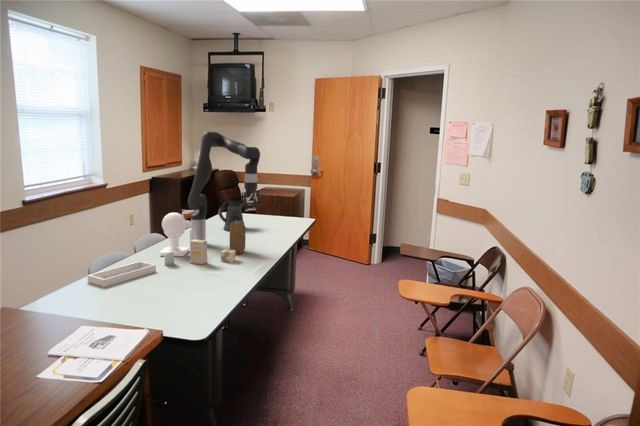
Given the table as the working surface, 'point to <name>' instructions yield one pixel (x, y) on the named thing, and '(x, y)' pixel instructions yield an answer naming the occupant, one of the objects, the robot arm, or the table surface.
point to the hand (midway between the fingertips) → (250, 208)
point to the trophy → (174, 233)
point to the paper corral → (99, 276)
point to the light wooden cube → (227, 255)
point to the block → (237, 237)
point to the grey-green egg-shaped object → (169, 258)
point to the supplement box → (198, 251)
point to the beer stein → (231, 213)
